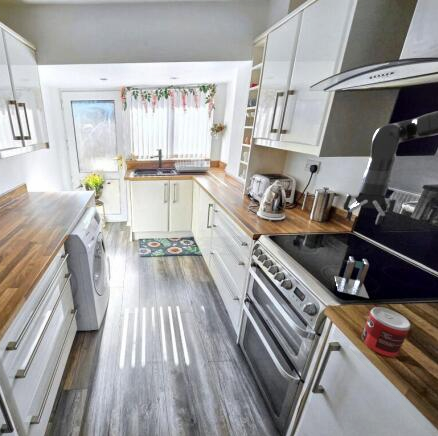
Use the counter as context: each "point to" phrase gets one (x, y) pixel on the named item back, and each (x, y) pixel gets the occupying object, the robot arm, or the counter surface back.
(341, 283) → the bracket
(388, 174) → the robot arm
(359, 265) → the lever
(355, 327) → the counter surface
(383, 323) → the canned food
